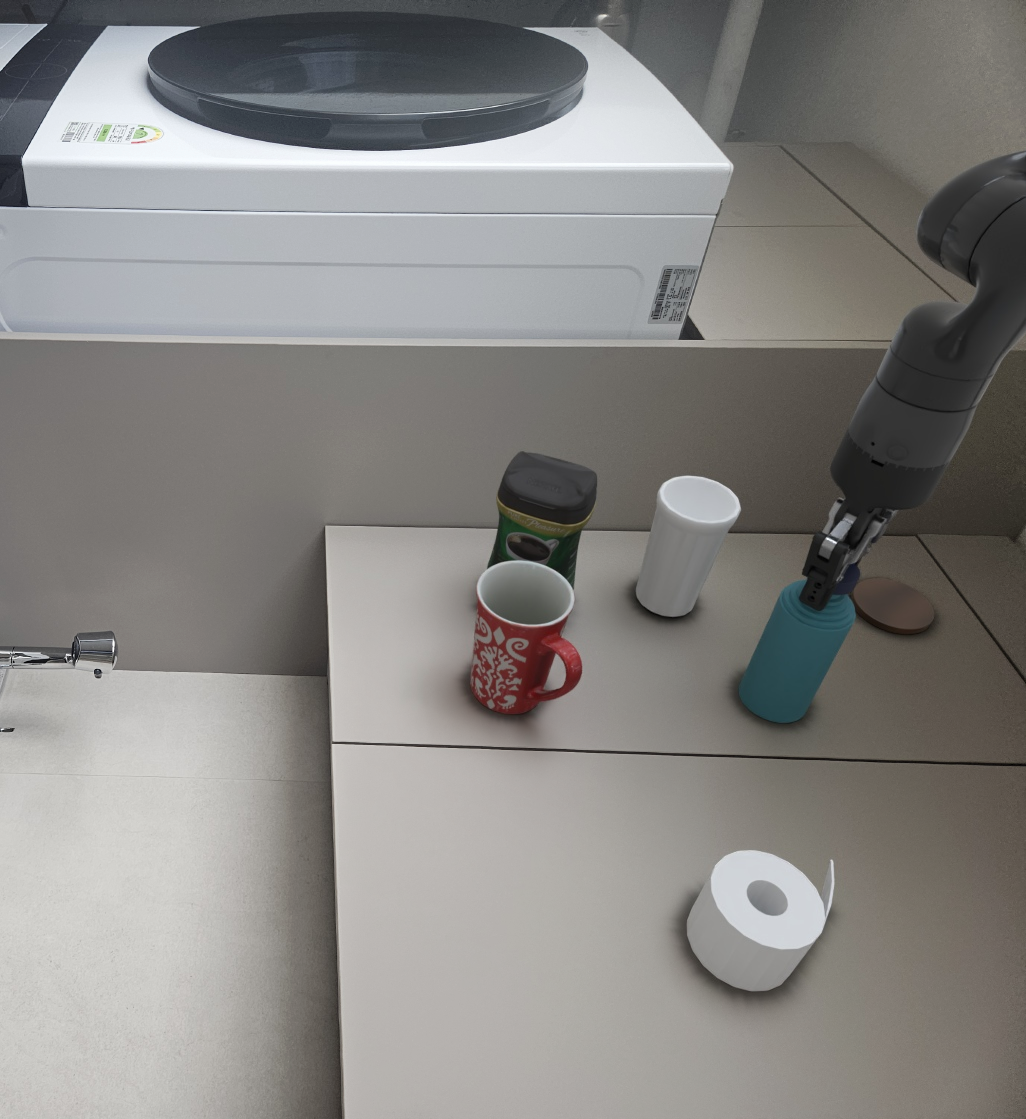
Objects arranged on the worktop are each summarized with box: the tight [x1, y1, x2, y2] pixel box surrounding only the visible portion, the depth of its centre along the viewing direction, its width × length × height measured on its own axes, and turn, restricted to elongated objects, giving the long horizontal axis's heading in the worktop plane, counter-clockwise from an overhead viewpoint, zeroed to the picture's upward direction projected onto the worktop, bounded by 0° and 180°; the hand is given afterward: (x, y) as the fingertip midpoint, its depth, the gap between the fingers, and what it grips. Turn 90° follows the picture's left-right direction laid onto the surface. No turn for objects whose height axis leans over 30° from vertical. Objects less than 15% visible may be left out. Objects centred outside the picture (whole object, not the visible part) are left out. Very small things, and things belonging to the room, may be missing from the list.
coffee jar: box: [485, 450, 598, 591], centre depth 102 cm, size 10×8×19 cm
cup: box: [635, 475, 742, 618], centre depth 103 cm, size 8×8×14 cm
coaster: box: [850, 577, 935, 635], centre depth 106 cm, size 8×8×1 cm
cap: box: [806, 563, 861, 595], centre depth 86 cm, size 4×4×2 cm
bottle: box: [738, 578, 857, 724], centre depth 92 cm, size 6×6×17 cm
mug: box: [469, 561, 583, 715], centre depth 93 cm, size 13×9×14 cm
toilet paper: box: [686, 849, 835, 992], centre depth 77 cm, size 8×11×7 cm
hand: (822, 592), depth 88 cm, fingers closed on cap, 3 cm apart
